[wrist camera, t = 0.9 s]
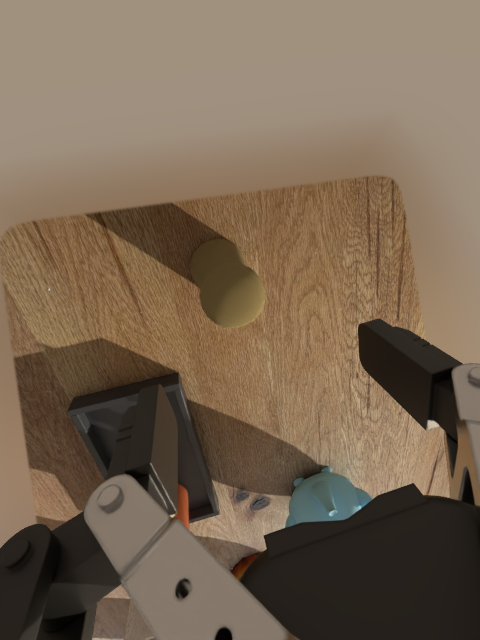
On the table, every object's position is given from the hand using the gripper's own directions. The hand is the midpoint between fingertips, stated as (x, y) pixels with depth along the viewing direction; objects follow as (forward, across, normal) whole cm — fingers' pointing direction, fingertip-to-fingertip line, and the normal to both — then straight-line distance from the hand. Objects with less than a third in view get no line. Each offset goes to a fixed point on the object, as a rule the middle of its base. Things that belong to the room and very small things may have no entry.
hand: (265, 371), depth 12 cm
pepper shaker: (+22, 0, +2) cm, 22 cm away
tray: (+22, +15, +25) cm, 36 cm away
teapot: (+22, -7, +43) cm, 49 cm away
